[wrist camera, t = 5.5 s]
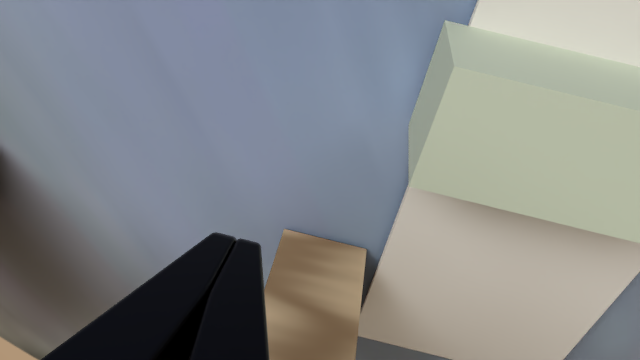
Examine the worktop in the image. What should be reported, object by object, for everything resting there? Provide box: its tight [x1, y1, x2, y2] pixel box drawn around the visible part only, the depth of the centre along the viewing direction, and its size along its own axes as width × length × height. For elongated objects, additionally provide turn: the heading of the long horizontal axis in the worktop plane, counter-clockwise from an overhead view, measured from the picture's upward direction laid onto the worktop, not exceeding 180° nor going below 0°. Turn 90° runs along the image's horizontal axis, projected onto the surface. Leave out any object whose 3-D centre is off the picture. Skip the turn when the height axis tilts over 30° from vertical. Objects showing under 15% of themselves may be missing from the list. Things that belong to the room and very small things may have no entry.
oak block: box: [264, 229, 367, 360], centre depth 20 cm, size 4×4×9 cm
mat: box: [358, 0, 640, 360], centre depth 20 cm, size 10×19×1 cm, turn 169°
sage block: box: [409, 20, 640, 243], centre depth 15 cm, size 4×4×9 cm
